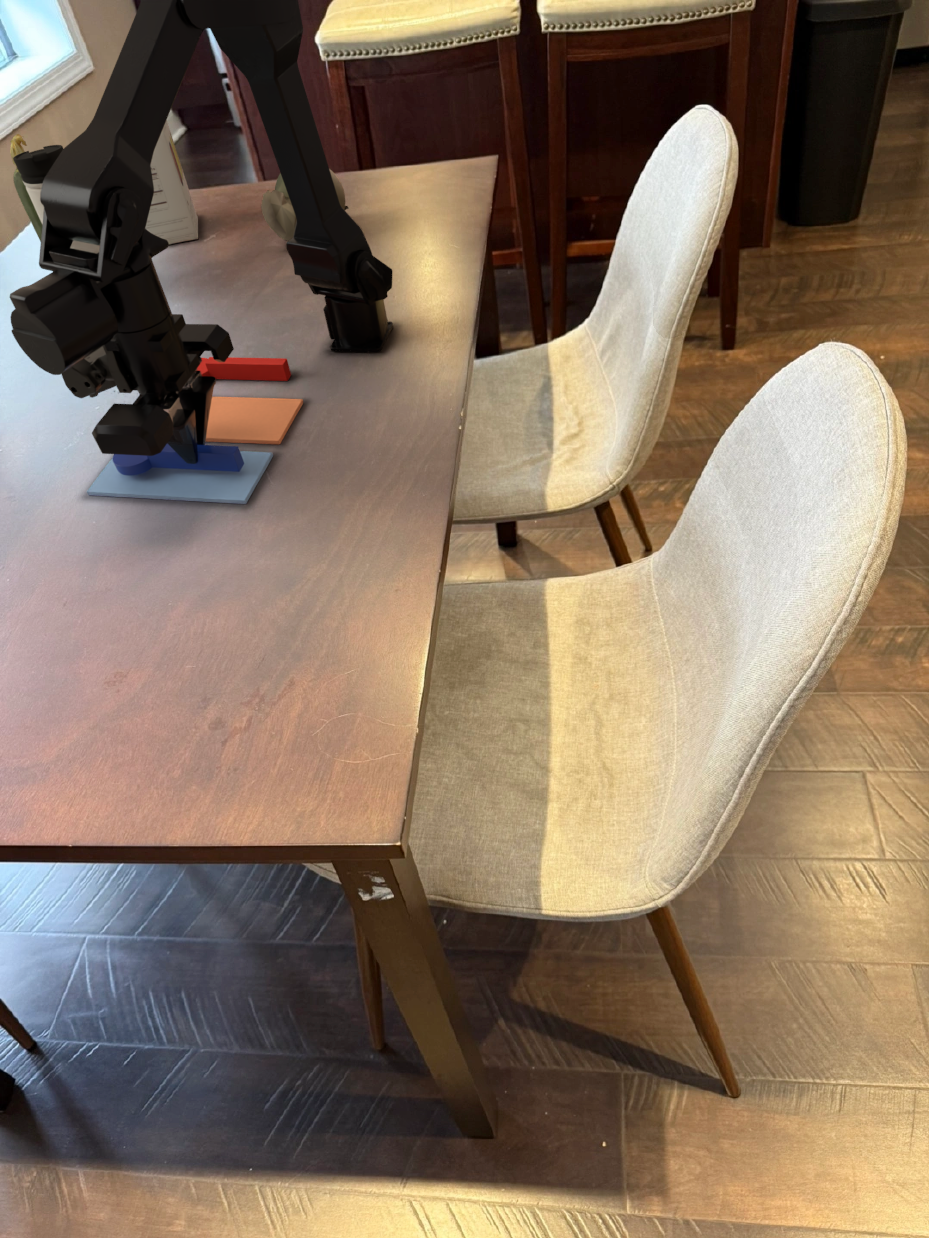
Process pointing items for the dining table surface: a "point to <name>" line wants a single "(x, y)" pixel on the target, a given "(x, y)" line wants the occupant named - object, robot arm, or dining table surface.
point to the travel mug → (33, 176)
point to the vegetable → (21, 188)
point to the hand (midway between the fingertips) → (195, 457)
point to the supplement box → (170, 195)
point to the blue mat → (185, 482)
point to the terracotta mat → (250, 419)
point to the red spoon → (246, 368)
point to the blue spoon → (168, 458)
